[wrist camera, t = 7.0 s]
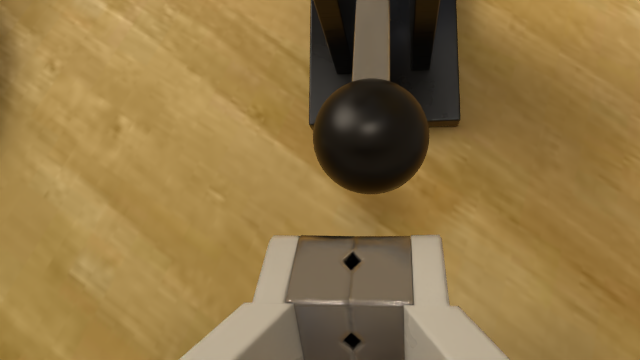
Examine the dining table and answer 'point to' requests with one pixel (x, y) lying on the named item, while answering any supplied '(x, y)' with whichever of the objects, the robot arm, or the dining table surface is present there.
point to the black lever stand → (391, 54)
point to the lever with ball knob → (371, 115)
